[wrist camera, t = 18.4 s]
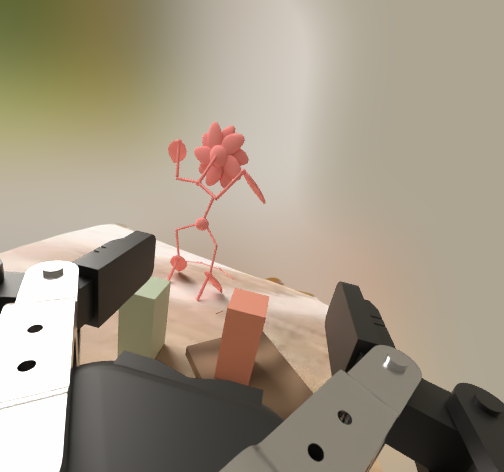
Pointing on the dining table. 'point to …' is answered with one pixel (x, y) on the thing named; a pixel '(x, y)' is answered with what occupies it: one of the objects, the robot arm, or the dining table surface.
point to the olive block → (144, 319)
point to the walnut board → (257, 374)
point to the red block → (241, 336)
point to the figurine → (213, 178)
